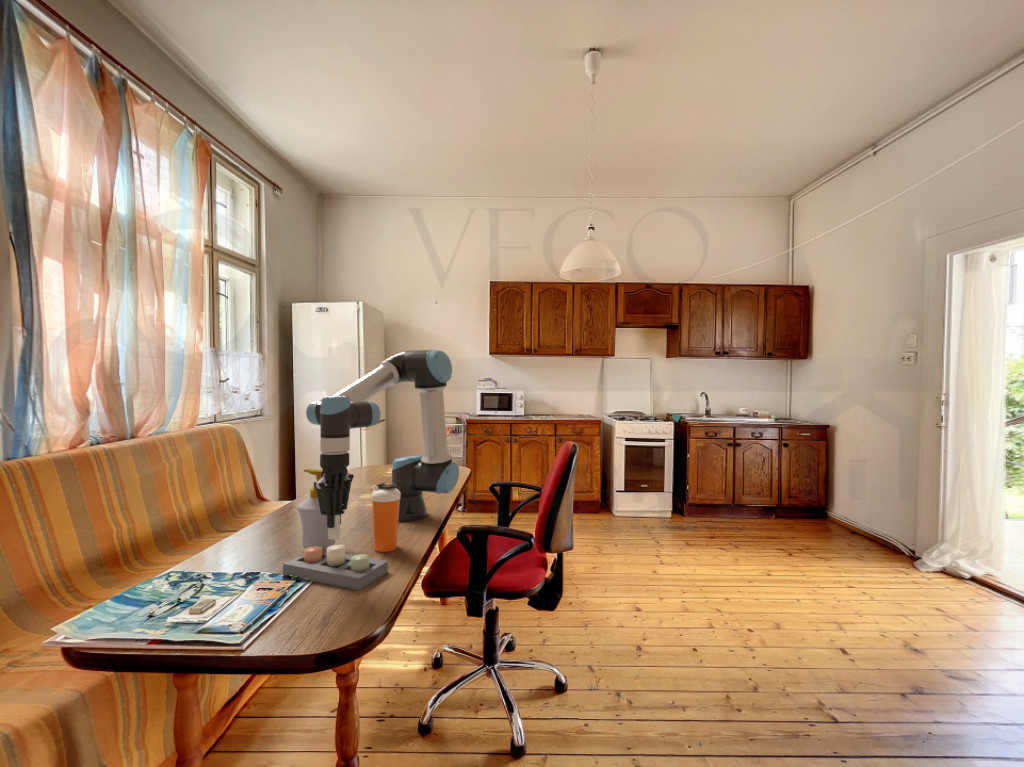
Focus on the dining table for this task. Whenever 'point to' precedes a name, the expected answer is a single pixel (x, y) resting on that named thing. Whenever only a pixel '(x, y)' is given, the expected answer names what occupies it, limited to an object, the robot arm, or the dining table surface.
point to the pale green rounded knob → (360, 563)
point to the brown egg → (313, 554)
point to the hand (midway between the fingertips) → (333, 538)
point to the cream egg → (335, 555)
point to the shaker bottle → (385, 516)
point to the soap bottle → (314, 519)
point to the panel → (335, 571)
